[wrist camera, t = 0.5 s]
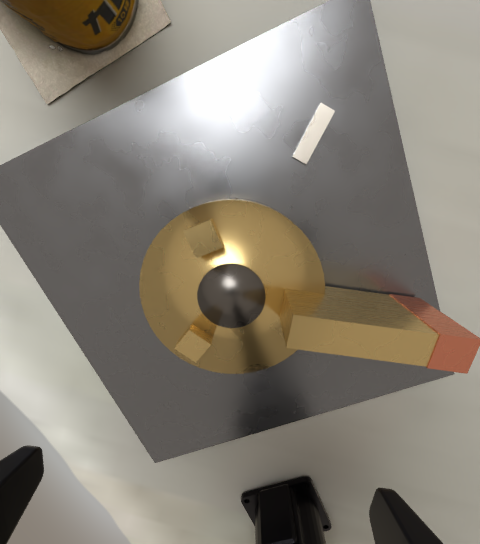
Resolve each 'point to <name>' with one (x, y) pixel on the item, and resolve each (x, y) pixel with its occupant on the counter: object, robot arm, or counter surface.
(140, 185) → the base plate
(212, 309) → the brass lever handle
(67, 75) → the condiment
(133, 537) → the counter surface
